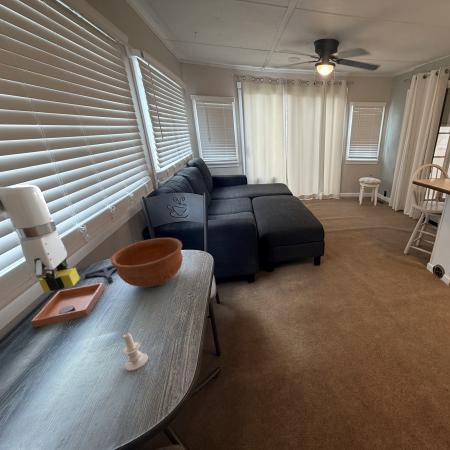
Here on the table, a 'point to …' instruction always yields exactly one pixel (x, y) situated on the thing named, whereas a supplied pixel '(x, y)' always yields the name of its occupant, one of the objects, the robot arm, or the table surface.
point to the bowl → (148, 261)
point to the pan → (77, 297)
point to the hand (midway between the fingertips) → (61, 284)
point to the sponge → (63, 278)
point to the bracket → (105, 272)
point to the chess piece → (133, 354)
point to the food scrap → (67, 309)
